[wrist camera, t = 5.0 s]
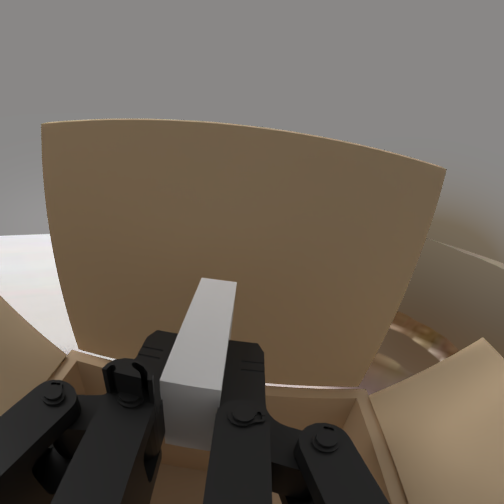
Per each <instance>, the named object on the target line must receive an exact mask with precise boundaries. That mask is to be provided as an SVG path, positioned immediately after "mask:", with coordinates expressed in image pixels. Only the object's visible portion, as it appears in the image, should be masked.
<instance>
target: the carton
mask: <svg viewBox="0 0 504 504" xmlns="http://www.w3.org/2000/svg"><path fill="white" fill-rule="evenodd" d="M109 362H111V360H107V359H103V358H100V357H96V356H92V355H88V354H85V353H81V352H78V351H74V350H71V351H70V353H69V354H68V355H66V354H65V353H64V352H63V351H61V350H60V349H59V348H58V347H56V346H55V345H54V344H53V343H51V342H50V341H49V340H48V339H47V338H45V337H44V336H43V335H42V334H41V333H40V332H38V331H37V330H36V329H35V328H34V327H33V326H32V325H30V324H29V323H28V322H27V321H26V320H25V319H24V318H23V317H22V316H21V315H20V314H18V313H17V312H16V311H15V310H14V309H13V308H12V307H11V306H10V305H9V304H8V303H7V302H6V301H5V300H4V299H3V298H2V297H1V296H0V416H1V415H2V414H4V413H5V412H6V411H7V410H9V409H10V408H11V407H12V406H13V405H15V404H16V403H17V402H18V401H19V400H21V399H22V398H23V397H24V396H26V395H27V394H28V393H29V392H30V391H32V390H33V389H34V388H35V387H37V386H38V385H40V384H41V383H43V382H45V381H49V380H62V381H65V382H67V383H69V384H70V385H71V386H73V387H74V389H75V391H76V394H77V395H103V394H106V393H107V392H106V387H105V382H104V378H103V373H102V368H103V367H104V366H105V365H106V364H107V363H109ZM265 397H266V408H267V411H268V412H269V414H270V415H271V416H272V417H273V419H274V420H276V421H278V422H279V423H281V424H283V425H286V426H288V427H292V428H295V429H298V430H303V429H304V428H306V427H307V426H309V425H312V424H315V423H328V424H332V425H336V426H337V427H339V428H341V429H343V430H344V431H345V432H346V433H347V435H348V436H349V437H350V439H351V440H352V442H353V444H354V445H355V447H356V449H357V450H358V452H359V454H360V455H361V457H362V459H363V460H364V462H365V464H366V465H367V467H368V469H369V470H370V472H371V474H372V475H373V477H374V479H375V480H376V482H377V484H378V485H379V487H380V489H381V490H382V492H383V494H384V495H385V497H386V498H387V500H388V502H389V503H390V504H504V358H503V357H502V356H501V355H500V354H499V353H498V352H497V351H496V350H495V349H494V348H493V347H492V346H491V345H490V344H489V343H488V342H487V341H486V340H485V339H484V338H481V339H479V340H478V341H476V342H474V343H473V344H471V345H470V346H468V347H466V348H464V349H463V350H461V351H459V352H457V353H456V354H454V355H452V356H450V357H449V358H447V359H445V360H443V361H441V362H439V363H437V364H436V365H434V366H432V367H430V368H428V369H426V370H424V371H422V372H420V373H418V374H416V375H414V376H412V377H409V378H407V379H405V380H403V381H401V382H399V383H396V384H394V385H392V386H390V387H387V388H385V389H383V390H380V391H378V392H376V393H373V394H371V395H369V396H368V394H367V391H366V389H312V388H291V387H276V386H265ZM161 450H162V459H161V463H160V466H159V470H158V474H157V478H156V481H155V485H154V489H153V493H152V497H151V501H150V504H203V498H204V491H205V484H206V477H207V470H208V464H209V457H210V451H206V450H199V449H193V448H187V447H181V446H176V445H171V444H166V443H165V436H164V438H163V442H162V445H161ZM272 504H282V503H281V500H280V497H279V494H277V493H274V492H272Z"/></svg>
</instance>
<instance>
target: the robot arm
mask: <svg viewBox="0 0 504 504" xmlns="http://www.w3.org/2000/svg"><path fill="white" fill-rule="evenodd" d="M236 286H237V282H232V281H224V280H216V279H209V278H201V281H200V283H199V285H198V288H197V290H196V292H195V295H194V297H193V299H192V302H191V304H190V306H189V309H188V311H187V314H186V316H185V318H184V321H183V323H182V326H181V328H180V331H179V333H172V332H166V331H160V330H156V331H155V332H153V333H152V334H150V335H149V336H147V338H146V340H145V341H144V343H143V345H142V348H141V349H140V351H139V352H138V355H137V356H136V358H135V359H130V358H122V359H115V360H113V361H111V362H109V363H107V364H106V365H105V366H104V367H103V368H102V373H103V378H104V382H105V387H106V392H107V393H106V394H103V395H77V394H76V391H75V389H74V387H73V386H71V385H70V384H69V383H67V382H65V381H62V380H49V381H45V382H43V383H41V384H40V385H38V386H37V387H35V388H34V389H33V390H32V391H30V392H29V393H28V394H27V395H26V396H24V397H23V398H22V399H21V400H19V401H18V402H17V403H16V404H15V405H13V406H12V407H11V408H10V409H9V410H7V411H6V412H5V413H4V414H2V415H1V416H0V504H150V501H151V497H152V493H153V489H154V485H155V481H156V478H157V474H158V470H159V466H160V463H161V459H162V450H161V445H162V442H163V438H164V436H165V443H166V444H171V445H176V446H181V447H187V448H193V449H199V450H206V451H210V457H209V464H208V470H207V477H206V484H205V491H204V498H203V504H272V492H274V493H277V494H279V497H280V500H281V503H282V504H390V503H389V502H388V500H387V498H386V497H385V495H384V494H383V492H382V490H381V489H380V487H379V485H378V484H377V482H376V480H375V479H374V477H373V475H372V474H371V472H370V470H369V469H368V467H367V465H366V464H365V462H364V460H363V459H362V457H361V455H360V454H359V452H358V450H357V449H356V447H355V445H354V444H353V442H352V440H351V439H350V437H349V436H348V435H347V433H346V432H345V431H344V430H343V429H341V428H339V427H337V426H336V425H332V424H328V423H315V424H312V425H309V426H307V427H306V428H304V429H303V430H298V429H295V428H292V427H288V426H286V425H283V424H281V423H279V422H278V421H276V420H274V419H273V417H272V416H271V415H270V414H269V412H268V411H267V408H266V397H265V365H264V363H265V362H264V352H263V350H262V349H261V347H260V346H259V344H258V343H251V342H242V341H234V340H230V338H231V329H232V320H233V312H234V303H235V294H236Z"/></svg>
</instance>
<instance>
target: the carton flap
mask: <svg viewBox="0 0 504 504" xmlns="http://www.w3.org/2000/svg"><path fill="white" fill-rule="evenodd" d="M41 132H42V133H41V136H42V138H41V139H42V164H43V179H44V190H45V199H46V208H47V216H48V223H49V230H50V236H51V242H52V248H53V253H54V258H55V263H56V268H57V273H58V277H59V281H60V286H61V290H62V294H63V298H64V302H65V305H66V309H67V313H68V316H69V320H70V323H71V326H72V330H73V333H74V336H75V339H76V342H77V345H78V348H79V349H80V350H83V351H87V352H91V353H94V354H98V355H102V356H106V357H110V358H114V359H122V358H130V359H135V358H136V356H137V355H138V352H139V351H140V349H141V348H142V345H143V343H144V341H145V340H146V338H147V336H149V335H150V334H152V333H153V332H155V331H156V330H160V331H166V332H172V333H179V331H180V328H181V326H182V323H183V321H184V318H185V316H186V314H187V311H188V309H189V306H190V304H191V302H192V299H193V297H194V295H195V292H196V290H197V288H198V285H199V283H200V281H201V278H209V279H216V280H224V281H232V282H237V286H236V294H235V303H234V312H233V320H232V329H231V338H230V340H234V341H242V342H251V343H258V344H259V346H260V347H261V349H262V350H263V352H264V362H265V363H264V365H265V383H273V384H287V385H305V386H338V387H359V385H360V383H361V381H362V379H363V378H364V376H365V374H366V372H367V370H368V369H369V367H370V365H371V363H372V361H373V359H374V357H375V356H376V354H377V352H378V350H379V348H380V346H381V344H382V342H383V340H384V338H385V336H386V334H387V332H388V330H389V328H390V325H391V323H392V321H393V319H394V317H395V315H396V312H397V310H398V308H399V306H400V304H401V301H402V299H403V297H404V294H405V292H406V290H407V287H408V285H409V282H410V280H411V277H412V275H413V272H414V270H415V267H416V265H417V262H418V259H419V257H420V254H421V251H422V249H423V246H424V243H425V240H426V237H427V234H428V231H429V228H430V225H431V222H432V219H433V216H434V213H435V209H436V206H437V203H438V199H439V196H440V192H441V189H442V185H443V181H444V177H445V174H446V169H445V168H443V167H440V166H438V165H434V164H431V163H428V162H425V161H421V160H418V159H414V158H411V157H407V156H404V155H400V154H396V153H392V152H389V151H385V150H380V149H376V148H372V147H368V146H364V145H359V144H355V143H351V142H346V141H341V140H336V139H331V138H326V137H321V136H315V135H310V134H303V133H298V132H292V131H285V130H278V129H271V128H264V127H256V126H247V125H239V124H229V123H217V122H204V121H191V120H171V119H170V120H169V119H91V120H72V121H58V122H47V123H43V124H41Z"/></svg>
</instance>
